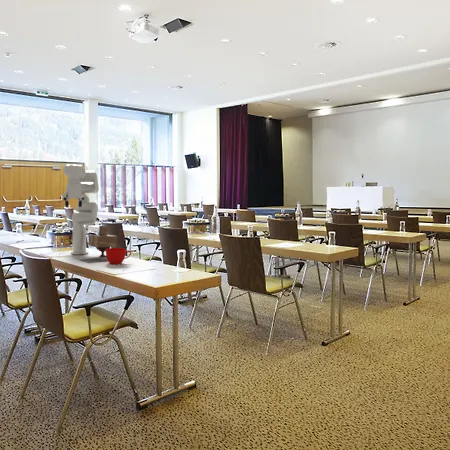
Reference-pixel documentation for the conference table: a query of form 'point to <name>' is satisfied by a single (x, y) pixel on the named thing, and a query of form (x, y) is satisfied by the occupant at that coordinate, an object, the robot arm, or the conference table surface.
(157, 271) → the conference table surface
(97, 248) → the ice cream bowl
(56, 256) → the conference table surface
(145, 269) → the conference table surface
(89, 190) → the robot arm
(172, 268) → the conference table surface
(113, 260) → the ceramic cup
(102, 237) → the brown block with knob
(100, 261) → the mat
